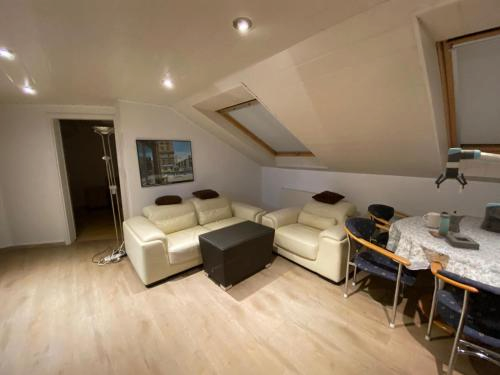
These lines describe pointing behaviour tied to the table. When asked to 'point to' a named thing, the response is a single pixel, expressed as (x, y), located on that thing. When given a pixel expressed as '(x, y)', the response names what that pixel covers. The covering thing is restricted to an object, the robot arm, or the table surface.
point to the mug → (433, 220)
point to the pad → (436, 234)
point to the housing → (462, 242)
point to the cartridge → (444, 224)
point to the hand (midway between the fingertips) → (449, 192)
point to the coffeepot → (454, 221)
